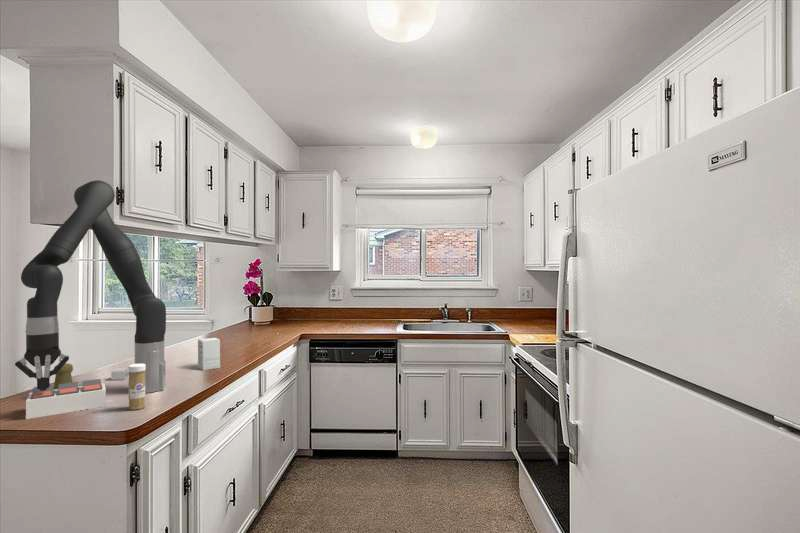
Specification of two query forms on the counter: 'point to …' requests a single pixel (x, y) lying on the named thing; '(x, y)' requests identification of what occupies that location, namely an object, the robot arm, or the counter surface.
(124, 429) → the counter surface
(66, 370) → the cork
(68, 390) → the switch middle
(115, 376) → the usb wall charger
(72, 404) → the white switch panel
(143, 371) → the sprinkles bottle
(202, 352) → the supplement box
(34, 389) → the switch
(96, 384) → the switch
